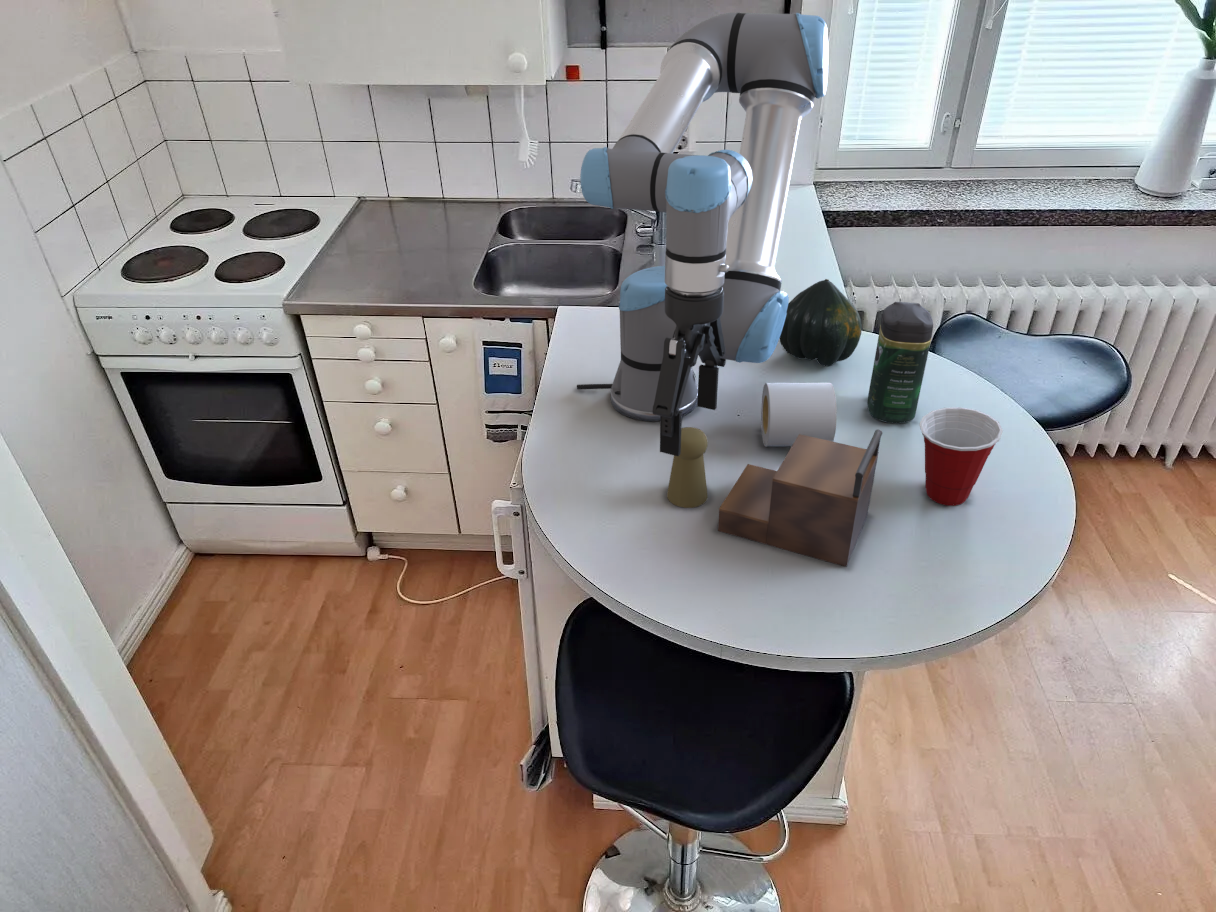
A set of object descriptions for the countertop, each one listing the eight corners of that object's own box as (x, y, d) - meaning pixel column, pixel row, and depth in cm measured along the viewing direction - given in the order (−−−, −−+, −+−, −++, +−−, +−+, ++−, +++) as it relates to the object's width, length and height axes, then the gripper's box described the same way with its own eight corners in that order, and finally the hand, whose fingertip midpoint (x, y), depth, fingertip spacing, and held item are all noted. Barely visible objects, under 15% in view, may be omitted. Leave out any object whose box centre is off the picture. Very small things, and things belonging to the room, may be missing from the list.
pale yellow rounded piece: (685, 479, 132) (687, 416, 126) (716, 495, 128) (720, 432, 122) (658, 496, 128) (659, 432, 122) (689, 513, 125) (691, 449, 119)
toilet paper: (766, 458, 136) (772, 403, 131) (759, 425, 144) (764, 371, 139) (831, 458, 136) (839, 402, 130) (820, 425, 144) (827, 371, 139)
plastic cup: (895, 476, 131) (908, 407, 125) (964, 471, 132) (981, 402, 125) (922, 519, 122) (938, 448, 116) (997, 514, 123) (1017, 443, 116)
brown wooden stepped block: (717, 531, 121) (723, 442, 113) (745, 485, 130) (752, 400, 122) (847, 567, 114) (862, 475, 106) (867, 516, 123) (883, 428, 115)
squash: (808, 358, 152) (855, 284, 151) (751, 331, 163) (795, 262, 162) (846, 389, 162) (890, 319, 161) (790, 362, 173) (831, 296, 171)
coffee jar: (917, 427, 143) (939, 323, 132) (868, 423, 144) (885, 320, 134) (912, 398, 151) (932, 298, 140) (865, 395, 152) (881, 296, 142)
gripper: (684, 328, 99) (679, 481, 111) (754, 258, 118) (744, 395, 130) (625, 317, 102) (626, 467, 114) (702, 250, 121) (697, 385, 132)
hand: (689, 429), depth 122 cm, fingers open, 13 cm apart
